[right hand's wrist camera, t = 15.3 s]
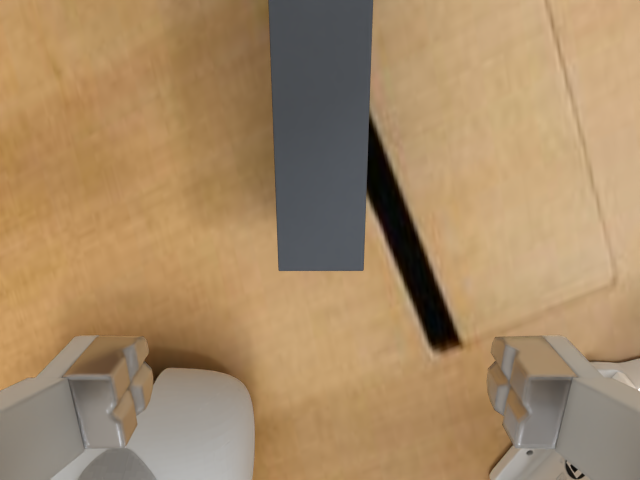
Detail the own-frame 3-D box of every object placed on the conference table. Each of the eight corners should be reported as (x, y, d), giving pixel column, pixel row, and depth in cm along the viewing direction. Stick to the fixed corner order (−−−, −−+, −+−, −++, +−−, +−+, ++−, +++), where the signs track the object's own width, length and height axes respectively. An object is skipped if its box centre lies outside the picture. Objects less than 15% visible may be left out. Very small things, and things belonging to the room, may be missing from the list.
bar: (352, 220, 33) (363, 271, 24) (289, 220, 33) (278, 271, 24) (361, -172, 25) (383, -308, 16) (279, -172, 25) (256, -308, 16)
